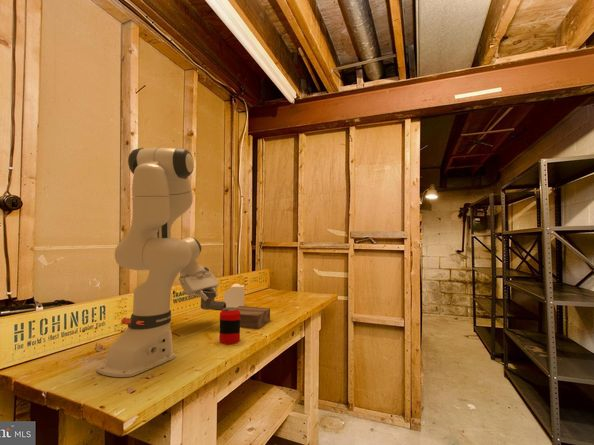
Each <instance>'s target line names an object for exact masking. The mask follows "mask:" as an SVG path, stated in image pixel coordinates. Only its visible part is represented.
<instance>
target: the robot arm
mask: <svg viewBox="0 0 594 445" xmlns="http://www.w3.org/2000/svg"><path fill="white" fill-rule="evenodd" d="M127 164H128V167H129V170H130V172H131V173H132V174H133V176H132V187H131V188H132V189H131V196H132V197H131V198H132V199H131V201H132V203H131V204H132V220H131V224H130V228H129V230H128V232H127V234H126V236H125V237H124V238H123V239H122V240H121V241H120V242H119V243H118V244H117V246H116V247H115V250H114V259H115V262H116V264H118V266H119V267H120V268H121V267H122V268H126V269H129V270H133V271H148V276H147V278H146V280H145V281H144V282H141V283H140V284H139V285H138V286H137V287H136V288H135V289H134V291H133V302H132V303H133V304H132V305H133V306H132V313H131V315H130V318H129V317H122V319H121V320H120V323H121V324H122V325H126V326H127V328H125V330H124V331H122V334H120V335H119V336H118V338H117V339H116V340H115V341H114V342H113V343H111V345H110V346H109V347H108V350H107V353H106V360H105V361H104V362H102V363H100V364H99V365H97V366H96V372H97V373H98V374H100V375H103V376H108V377H115V378H129V377H134V376H137V375H139V374H140V373H143V372H146V371H148V370H151V369H152V368H155V367H158V366H160V365H162V364H165V363H167V362H169V361H172V360H174V359H175V358H176V354H175V350H174V347H173V346H174V345H173V334H172V328H171V324H170V323H171V321H172V311H171V296H172V295H171V293H172V287H173V283H174V282H175V279H176V277H177V276H179V274H180V276H179V278H178V281H179V283H180V286H181V287H182V290H183V291H184V293H185V294H186V295H187V296H189V297H190V296H195V295H197V296H198V297H200V299H201V298H203V300H204V301H206V300H208V299H209V297H208V295H205V294H204V293H203V291H202V290H205V289H209V290H214V291H216V289H217V288H218V287H219V286H220V282H219V280H218V279H217V278H216V275H214V274H213V273H212V272H211V269H210V267H206V266H203V265H201V264H199V263H198V262H197V260H196V259H198V258H199V257H200V254H201V253H202V245H201V243H200V242H199V240H197V239H196V238H195V237H192V236H189V237H185V238H183V239H178V238H172V225H173V224H174V223H175V221H177V219H179V217H181V216H182V215H184V214H185V213H186V212H187V211H189V209H190V208H191V206H192V205H193V199H194V198H193V191H192V190H193V189H192V185H191V184H192V183H191V180H190V176H191V175H192V173H193V171H194V167H195V166H194V157H193V155H192V154H191V153H190V151H189V150H188V149H186V148H181V147H176V148H175V147H160V146H155V147H147V148H144V147H140V148H136V149H133V150H131V151H130V153H129V155H128V159H127ZM218 296H219V295H218V293H217V291H216V293H215V298H214V299H216V298H217V297H218Z"/></svg>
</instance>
